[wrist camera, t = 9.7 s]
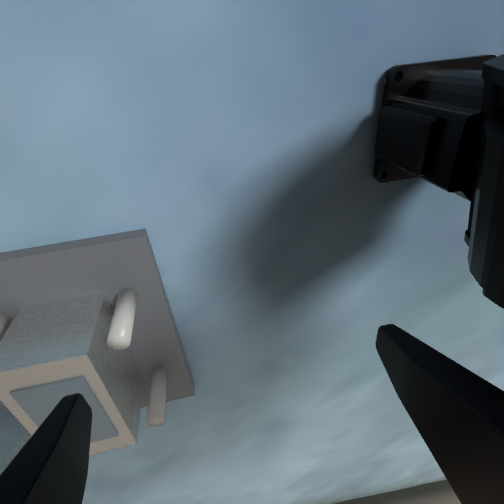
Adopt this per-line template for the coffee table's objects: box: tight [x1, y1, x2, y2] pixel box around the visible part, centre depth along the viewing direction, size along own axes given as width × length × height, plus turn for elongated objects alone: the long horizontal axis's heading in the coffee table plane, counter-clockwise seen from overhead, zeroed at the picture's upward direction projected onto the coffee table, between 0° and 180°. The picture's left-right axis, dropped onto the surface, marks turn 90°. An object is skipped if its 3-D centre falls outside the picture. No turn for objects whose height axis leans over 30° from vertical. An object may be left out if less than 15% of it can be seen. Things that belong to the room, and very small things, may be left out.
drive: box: [0, 292, 143, 455], centre depth 20 cm, size 5×9×5 cm, turn 4°
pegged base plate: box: [0, 229, 195, 440], centre depth 21 cm, size 12×16×5 cm
